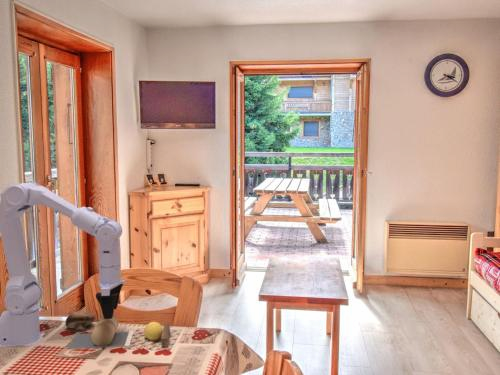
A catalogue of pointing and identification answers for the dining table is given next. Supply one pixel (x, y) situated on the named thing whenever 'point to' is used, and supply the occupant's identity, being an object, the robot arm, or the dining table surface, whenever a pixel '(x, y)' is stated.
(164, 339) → the end rail
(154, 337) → the ball
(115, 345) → the grey board
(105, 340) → the roller
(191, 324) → the dining table surface
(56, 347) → the dining table surface
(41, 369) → the dining table surface
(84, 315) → the mushroom
